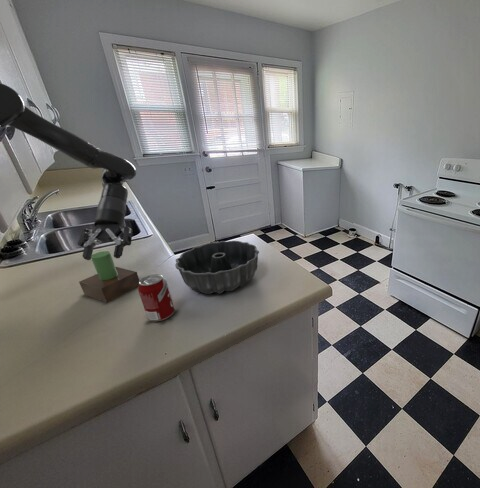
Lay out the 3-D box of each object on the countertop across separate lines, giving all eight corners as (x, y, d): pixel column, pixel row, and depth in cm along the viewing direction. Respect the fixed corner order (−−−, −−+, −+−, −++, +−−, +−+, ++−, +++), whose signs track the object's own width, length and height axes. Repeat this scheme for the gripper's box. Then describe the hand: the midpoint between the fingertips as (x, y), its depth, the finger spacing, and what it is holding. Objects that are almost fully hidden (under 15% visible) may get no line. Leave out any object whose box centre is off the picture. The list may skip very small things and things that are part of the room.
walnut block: (106, 302, 83) (101, 288, 81) (84, 295, 87) (78, 281, 85) (140, 284, 92) (136, 271, 90) (119, 278, 96) (114, 266, 94)
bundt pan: (208, 260, 109) (204, 237, 105) (271, 265, 105) (269, 241, 101) (163, 298, 85) (155, 270, 81) (242, 306, 81) (238, 277, 77)
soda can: (158, 326, 73) (146, 288, 68) (142, 319, 76) (130, 282, 71) (180, 311, 79) (170, 276, 74) (164, 306, 81) (154, 271, 76)
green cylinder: (105, 281, 85) (97, 258, 82) (96, 278, 86) (87, 256, 83) (121, 274, 89) (113, 252, 86) (111, 271, 90) (103, 250, 87)
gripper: (79, 208, 86) (67, 256, 80) (127, 206, 88) (119, 253, 82) (95, 219, 93) (85, 263, 87) (140, 217, 95) (133, 260, 89)
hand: (102, 258), depth 85 cm, fingers open, 8 cm apart
